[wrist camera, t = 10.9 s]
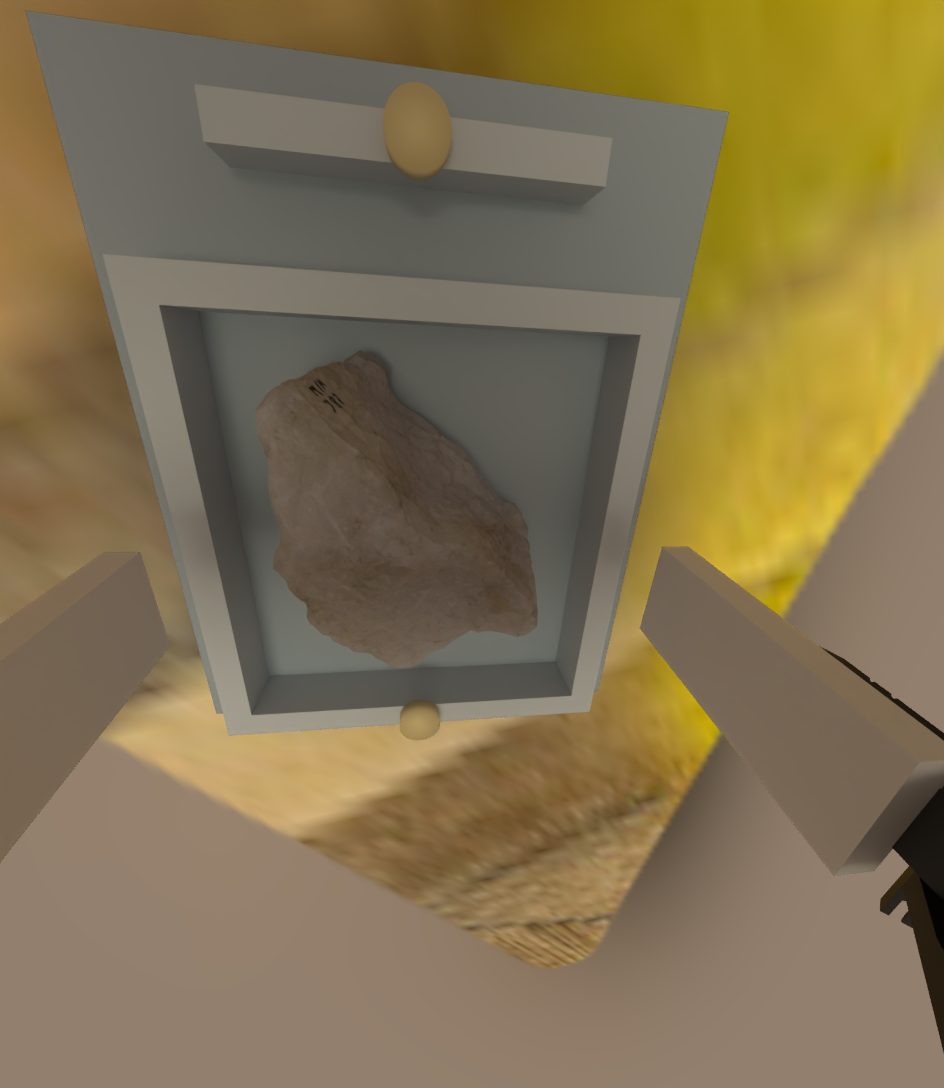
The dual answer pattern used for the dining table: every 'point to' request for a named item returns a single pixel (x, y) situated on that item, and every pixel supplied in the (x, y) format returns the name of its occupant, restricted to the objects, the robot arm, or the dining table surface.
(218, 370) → the bracket board
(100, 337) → the dining table surface
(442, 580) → the stone
